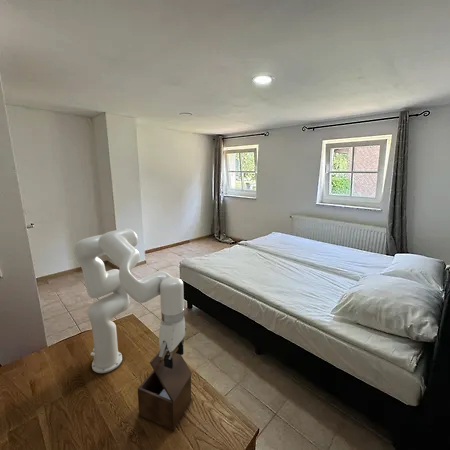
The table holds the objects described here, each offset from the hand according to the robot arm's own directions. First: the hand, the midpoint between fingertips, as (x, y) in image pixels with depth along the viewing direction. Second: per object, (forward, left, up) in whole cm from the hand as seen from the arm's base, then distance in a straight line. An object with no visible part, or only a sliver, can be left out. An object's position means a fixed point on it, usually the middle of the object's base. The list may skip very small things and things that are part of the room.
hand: (174, 359), depth 86 cm
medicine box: (-7, 0, -20) cm, 21 cm away
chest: (-4, 0, -23) cm, 23 cm away
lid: (-1, 0, -4) cm, 4 cm away
